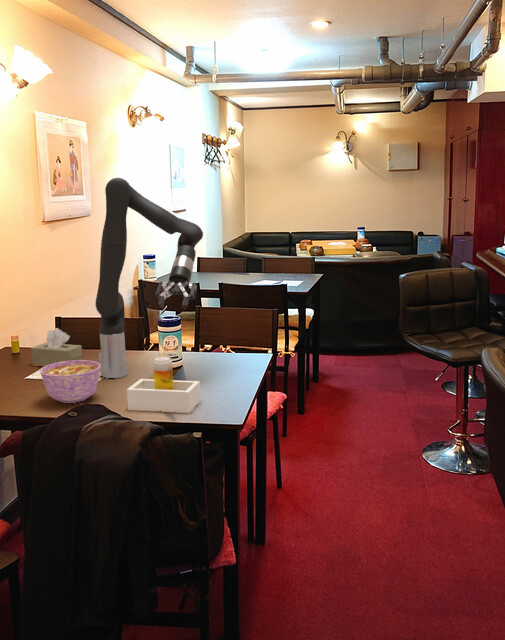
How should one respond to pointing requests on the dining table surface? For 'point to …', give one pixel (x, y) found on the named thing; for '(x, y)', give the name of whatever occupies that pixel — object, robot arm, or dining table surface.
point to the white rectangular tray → (163, 396)
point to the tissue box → (56, 349)
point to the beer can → (163, 373)
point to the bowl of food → (71, 380)
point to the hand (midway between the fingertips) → (172, 307)
